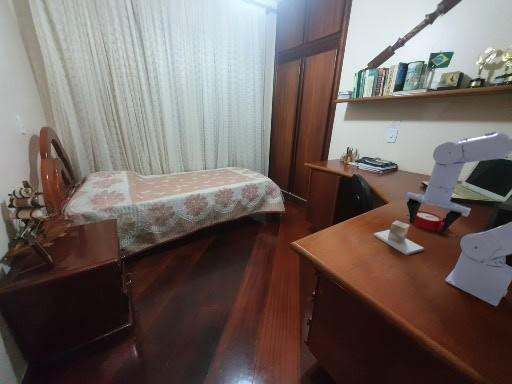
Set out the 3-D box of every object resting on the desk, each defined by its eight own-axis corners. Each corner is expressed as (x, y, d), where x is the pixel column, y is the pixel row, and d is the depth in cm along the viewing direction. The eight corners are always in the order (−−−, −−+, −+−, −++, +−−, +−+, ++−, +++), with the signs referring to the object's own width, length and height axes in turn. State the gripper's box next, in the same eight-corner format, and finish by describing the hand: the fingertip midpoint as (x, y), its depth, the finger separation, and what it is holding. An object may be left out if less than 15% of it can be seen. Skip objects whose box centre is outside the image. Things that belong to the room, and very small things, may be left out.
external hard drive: (406, 257, 66) (372, 236, 76) (423, 251, 68) (388, 232, 79) (407, 252, 65) (373, 232, 76) (424, 247, 68) (389, 229, 79)
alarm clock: (412, 208, 92) (459, 212, 80) (411, 221, 93) (458, 227, 82) (405, 214, 85) (455, 220, 74) (405, 229, 86) (454, 236, 75)
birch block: (405, 240, 72) (409, 224, 70) (400, 244, 70) (405, 228, 67) (392, 235, 75) (396, 220, 73) (387, 238, 73) (391, 223, 70)
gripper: (406, 181, 62) (394, 221, 66) (472, 196, 50) (452, 243, 55) (415, 178, 65) (404, 216, 70) (479, 191, 54) (460, 236, 59)
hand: (426, 228), depth 63 cm, fingers open, 7 cm apart
